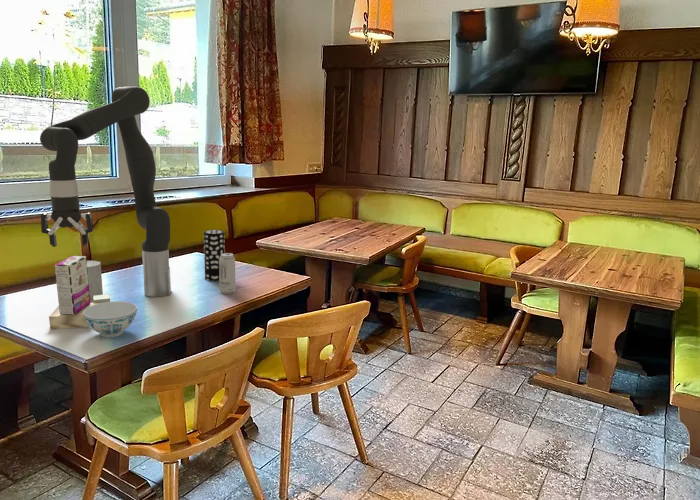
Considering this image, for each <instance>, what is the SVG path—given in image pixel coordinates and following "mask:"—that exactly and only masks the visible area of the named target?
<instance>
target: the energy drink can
mask: <svg viewBox="0 0 700 500" xmlns="http://www.w3.org/2000/svg"><path fill="white" fill-rule="evenodd" d="M218 282H219V292H221V294H224V295H230V294H234V293H235V291H236V258H235V256H234V254H233V253H232V252H225V253H223V254H221V256H220V258H219V281H218Z"/></svg>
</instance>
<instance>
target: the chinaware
mask: <svg viewBox="0 0 700 500" xmlns="http://www.w3.org/2000/svg"><path fill="white" fill-rule="evenodd" d="M137 310H138V307H137V305H136V304H135V303H132V302H129V301H110V302H105V303H100V304H96V305H93V306H90V307H88V308H86V309H85V310H84V311H83V315H84V318H85V320H86V322H87V324H88V325H89V326H90V327H89V328H91V330H93V331H94V332H97V333H99V335H100V336H101V337H103V338H116V337H119V336H121V335H123V334H124V333H125V330H127V329H128V328H129V327H130V326H131V325H132V324H133V321H134V320H135V318H136V316H137Z"/></svg>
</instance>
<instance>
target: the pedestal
mask: <svg viewBox="0 0 700 500" xmlns="http://www.w3.org/2000/svg"><path fill="white" fill-rule="evenodd" d="M96 304H100V302H98V303H94V302H91V303H90V304H89V305H88V306H86V307H85V308H83V309H82V310H81V311H79V312H78V313H77V314H75V315H61V314H60V310H59V305H58V306H57V307H56V308H55V309H54V310H53V312H52V313H51V314H50V315H49V316H48V318H49V319H48V320H49V328H50V330H53V329H54V330H55V329H57V330H58V329H76V328H77V329H78V328H91V327H90V326H89V325H88V324H87V322H86V320H85V318H84V315H83V311H84V310H85V309H86V308H88V307H90V306H93V305H96Z"/></svg>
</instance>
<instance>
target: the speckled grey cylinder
mask: <svg viewBox="0 0 700 500" xmlns="http://www.w3.org/2000/svg"><path fill="white" fill-rule="evenodd" d="M86 261H87V271H88V282H89V292H90V301H91V300H93V296H95V295H104V291H103V279H102V278H103V277H102V276H103V275H102V266H101V265H102V264H101V261H98V260H91V259H90V260H86Z"/></svg>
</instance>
